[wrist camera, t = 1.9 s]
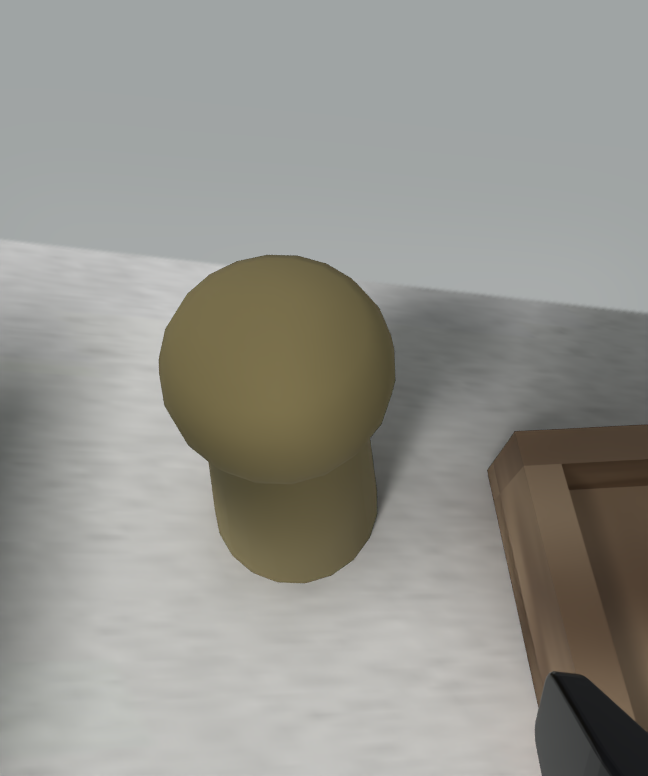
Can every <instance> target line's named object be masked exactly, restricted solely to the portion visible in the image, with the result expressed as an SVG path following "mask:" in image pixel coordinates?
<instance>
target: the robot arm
mask: <svg viewBox="0 0 648 776" xmlns="http://www.w3.org/2000/svg"><path fill="white" fill-rule="evenodd" d="M535 742H536V748H537V753H538V758H539V763H540V768H541V773H542V776H648V732H647V731H645V730H644V729H643V728H642V727H641V726H640V725H639V724H638V723H637V722H636V721H634V720H633V719H632V718H631V717H630V716H629V715H628V714H627V713H626V712H625V711H623V710H622V709H621V708H620V707H619V706H618V705H617V704H616V703H615V702H614V701H612V700H611V699H610V698H609V697H608V696H607V695H606V694H605V693H604V692H603V691H601V690H600V689H599V688H598V687H597V686H596V685H595V684H594V683H593V682H592V681H590V680H589V679H588V678H587V677H585V676H583V675H581V674H575V673H567V672H559V671H553V672H550V673H549V674H548V675H547V677H546V679H545V683H544V687H543V692H542V696H541V700H540V705H539V709H538V713H537V718H536V723H535Z"/></svg>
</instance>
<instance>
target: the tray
mask: <svg viewBox="0 0 648 776" xmlns="http://www.w3.org/2000/svg"><path fill="white" fill-rule="evenodd" d="M487 472H488V477H489V481H490V486H491V490H492V495H493V500H494V504H495V509H496V514H497V518H498V523H499V527H500V532H501V537H502V541H503V546H504V550H505V555H506V560H507V564H508V569H509V574H510V578H511V583H512V587H513V592H514V597H515V601H516V606H517V611H518V615H519V620H520V624H521V629H522V634H523V638H524V643H525V648H526V652H527V657H528V661H529V666H530V671H531V675H532V680H533V685H534V689H535V694H536V698H537V703H538V708H539V705H540V700H541V696H542V692H543V687H544V683H545V679H546V677H547V675H548V674H549V673H550V672H553V671H559V672H567V673H575V674H581V675H583V676H585V677H587V678H588V679H589V680H590V681H592V682H593V683H594V684H595V685H596V686H597V687H598V688H599V689H600V690H601V691H603V692H604V693H605V694H606V695H607V696H608V697H609V698H610V699H611V700H612V701H614V702H615V703H616V704H617V705H618V706H619V707H620V708H621V709H622V710H623V711H625V712H626V713H627V714H628V715H629V716H630V717H631V718H632V719H633V720H634V721H636V722H637V723H638V724H639V725H640V726H641V727H642V728H643V729H644V730H645V731H647V732H648V425H629V426H609V427H590V428H570V429H551V430H531V431H515V432H514V434H513V435H512V436H511V438H510V439H509V441H508V442H507V443H506V445H505V446H504V448H503V449H502V450H501V452H500V453H499V455H498V456H497V457H496V459H495V460H494V462H493V463H492V464H491V466H490V467H489V469H488V470H487Z"/></svg>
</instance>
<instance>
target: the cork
mask: <svg viewBox="0 0 648 776" xmlns="http://www.w3.org/2000/svg"><path fill="white" fill-rule="evenodd" d="M159 375H160V382H161V388H162V394H163V400H164V405H165V407H166V409H167V411H168V412H169V414H170V416H171V418H172V419H173V421H174V422H175V424H176V426H177V427H178V429H179V431H180V432H181V434H182V436H183V437H184V439H185V441H186V442H187V444H188V446H190V447H191V448H192V449H193V450H195V451H196V452H197V453H198V454H200V455H201V456H202V457H203V458H205V459H206V460H207V461H208V462H209V469H210V476H211V484H212V491H213V499H214V506H215V512H216V517H217V523H218V528H219V533H220V535H221V537H222V538H223V540H224V542H225V543H226V545H227V547H228V549H229V550H230V552H231V554H232V555H233V556H234V557H235V558H236V559H237V560H238V561H240V562H241V563H242V564H243V565H244V566H245V567H247V568H248V569H249V570H250V571H251V572H253V573H255V574H258V575H260V576H263V577H265V578H268V579H271V580H273V581H276V582H286V583H307V582H311V581H314V580H317V579H321V578H324V577H327V576H331V575H333V574H334V573H335V572H337V571H338V570H340V569H341V568H342V567H344V566H345V565H347V564H348V563H350V562H351V561H352V560H354V558H355V557H356V556H357V554H358V553H359V552H360V550H361V549H362V548H363V546H364V545H365V543H366V542H367V541H368V539H369V538H370V534H371V531H372V528H373V525H374V522H375V519H376V516H377V488H376V480H375V473H374V465H373V458H372V450H371V443H370V437H371V436H372V435H373V434H374V432H375V431H376V430H377V429H378V428H379V426H380V425H381V424H382V421H383V418H384V415H385V412H386V409H387V406H388V403H389V400H390V397H391V395H392V391H393V387H394V383H395V359H394V346H393V342H392V338H391V334H390V332H389V330H388V327H387V325H386V323H385V320H384V318H383V316H382V313H381V311H380V309H379V307H378V306H377V305H376V304H375V303H374V302H373V301H372V299H371V298H370V297H369V296H368V295H367V294H366V293H365V292H364V291H363V290H362V289H361V287H360V286H359V285H358V284H357V283H356V282H354V281H353V280H352V279H351V278H350V277H348V276H346V275H345V274H343V273H341V272H339V271H338V270H336V269H335V268H333V267H331V266H329V265H328V264H326V263H322V262H318V261H315V260H311V259H308V258H304V257H300V256H289V255H287V256H285V255H264V256H260V257H255V258H251V259H246V260H241V261H236V262H235V263H232V264H230V265H228V266H226V267H224V268H222V269H220V270H218V271H216V272H214V273H212V274H210V275H208V276H207V277H206V278H205V279H204V280H203V281H202V282H200V283H199V284H198V285H197V286H196V287H195V288H193V289H192V290H191V291H190V292H189V293H188V294H187V295H186V297H185V298H184V300H183V301H182V303H181V305H180V306H179V308H178V310H177V311H176V313H175V314H174V316H173V318H172V319H171V321H170V322H169V324H168V326H167V327H166V329H165V333H164V337H163V342H162V347H161V351H160V356H159Z"/></svg>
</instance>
